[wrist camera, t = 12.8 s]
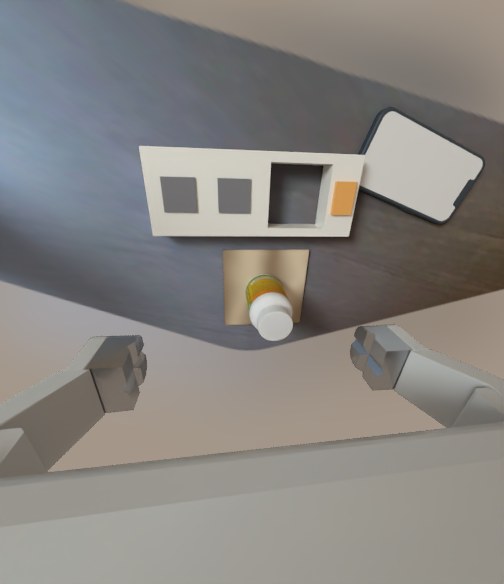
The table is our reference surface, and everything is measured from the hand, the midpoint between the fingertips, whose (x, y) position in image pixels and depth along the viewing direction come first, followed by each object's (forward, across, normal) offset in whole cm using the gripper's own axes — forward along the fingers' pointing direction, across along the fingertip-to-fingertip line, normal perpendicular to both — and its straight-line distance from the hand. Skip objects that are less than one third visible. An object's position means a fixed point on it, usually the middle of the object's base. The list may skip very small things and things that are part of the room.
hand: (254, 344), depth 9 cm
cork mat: (+24, -5, +9) cm, 27 cm away
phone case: (+24, -24, -7) cm, 35 cm away
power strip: (+24, -3, -4) cm, 25 cm away
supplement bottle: (+24, -5, +9) cm, 26 cm away
